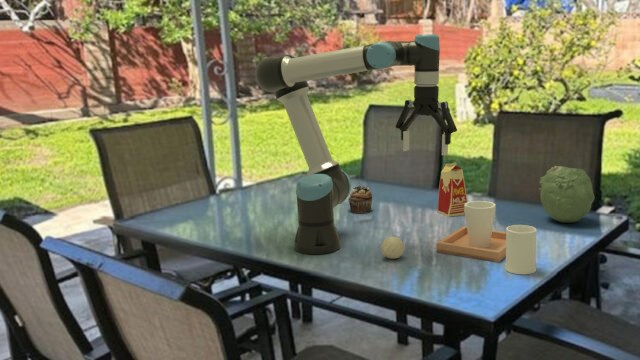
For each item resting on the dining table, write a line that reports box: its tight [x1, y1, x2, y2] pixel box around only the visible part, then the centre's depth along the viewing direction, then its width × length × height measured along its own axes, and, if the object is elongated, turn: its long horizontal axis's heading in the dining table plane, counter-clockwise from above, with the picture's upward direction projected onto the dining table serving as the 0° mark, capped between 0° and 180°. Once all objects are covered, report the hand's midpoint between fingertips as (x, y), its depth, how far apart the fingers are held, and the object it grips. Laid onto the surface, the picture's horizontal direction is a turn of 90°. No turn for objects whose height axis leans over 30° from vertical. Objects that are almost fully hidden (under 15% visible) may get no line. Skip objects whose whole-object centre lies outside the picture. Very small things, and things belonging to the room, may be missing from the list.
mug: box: [504, 224, 537, 275], centre depth 178 cm, size 12×8×12 cm
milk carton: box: [437, 162, 469, 218], centre depth 237 cm, size 9×9×20 cm
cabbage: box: [538, 165, 595, 224], centre depth 218 cm, size 16×19×20 cm
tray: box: [436, 226, 506, 263], centre depth 198 cm, size 20×20×3 cm
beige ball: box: [380, 236, 405, 260], centre depth 192 cm, size 7×7×7 cm
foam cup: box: [464, 200, 497, 248], centre depth 196 cm, size 10×9×13 cm
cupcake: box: [347, 185, 374, 214], centre depth 247 cm, size 10×10×10 cm
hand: (425, 152), depth 199 cm, fingers open, 13 cm apart
